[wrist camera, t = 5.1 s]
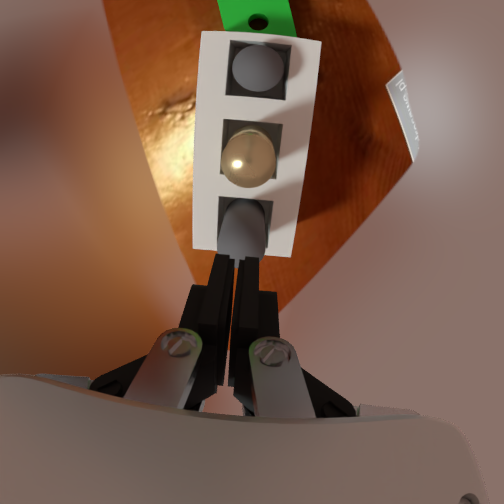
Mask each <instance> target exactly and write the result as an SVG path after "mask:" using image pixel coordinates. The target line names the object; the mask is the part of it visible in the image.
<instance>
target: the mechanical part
mask: <svg viewBox="0 0 504 504" xmlns="http://www.w3.org/2000/svg"><path fill="white" fill-rule="evenodd" d="M217 1H218V5H219V9H220V13H221V17H222V21H223V25H224V28H225V30H226V31H227V32H248V33H261V34H272V35H281V36H289V37H296V38H297V35H296V30H295V26H294V22H293V18H292V14H291V10H290V6H289V2H288V0H217ZM256 18H260V19H263V20H265V21H266V22H267V24H268V26H267V27H266V28H265V29H263V30H260V31H257V30H253V29H252V28H250V27H249V23H250V22H251V21H252V20H253V19H256Z"/></svg>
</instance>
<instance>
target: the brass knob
mask: <svg viewBox="0 0 504 504" xmlns="http://www.w3.org/2000/svg"><path fill="white" fill-rule="evenodd" d="M221 167H222V171H223V173H224V175H225V176H226V178H227V179H228V180H229V181H230V182H232V183H233V184H235V185H237V186H239V187H243V188H254V187H258V186H261V185H263V184H264V183H266V182H267V181H268V180H269V179H270V178H271V176H272V175H273V173H274V171H275V167H276V157H275V152H274V147H273V142H272V138H271V136H270V134H269V133H268V132H267V131H266V130H265V129H264V128H262V127H260V126H257V125H245V126H242V127H240V128H239V129H237V130H236V131H235V132H234V133H233V135H232V137H231V138H230V140H229V142H228V143H227V145H226V147H225V149H224V150H223V153H222V156H221Z"/></svg>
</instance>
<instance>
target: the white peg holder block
mask: <svg viewBox="0 0 504 504" xmlns="http://www.w3.org/2000/svg"><path fill="white" fill-rule="evenodd" d="M252 45H264V46H267V47H270V48H272V49H273V50H275V51H276V52H277V53H278V54H279V56H280V57H281V59H282V61H283V66H284V71H283V75H282V78H281V80H280V81H279V82H278V83H277V84H276V85H275V86H274V87H273V88H271V89H269V90H266V91H260V92H257V91H251V90H248V89H245V88H244V87H242V86H241V85H240V84H239V83H238V82H237V81H236V79H235V78H234V75H233V71H232V65H233V61H234V59H235V57H236V55H237V54H238V53H239V52H240V51H241V50H243V49H244V48H246V47H249V46H252ZM320 51H321V41H315V40H309V39H303V38H296V37H289V36H281V35H272V34H261V33H248V32H227V31H202V34H201V44H200V55H199V67H198V81H197V95H196V113H195V133H194V161H193V249H204V250H215V251H217V242H218V238H219V234H220V231H221V227H222V223H223V219H224V215H225V212H226V208H227V206H228V205H229V203H230V202H231V201H233V200H234V199H236V198H248V199H255V200H257V201H258V202H259V203H260V204H261V205H262V207H263V209H264V212H265V247H266V248H265V254H264V255H271V256H282V257H291V252H292V246H293V241H294V235H295V229H296V223H297V217H298V211H299V205H300V199H301V193H302V186H303V180H304V174H305V167H306V160H307V153H308V147H309V140H310V132H311V125H312V118H313V110H314V102H315V95H316V86H317V78H318V69H319V61H320ZM245 125H257V126H260V127H262V128H264V129H265V130H266V131H267V132H268V133H269V134H270V136H271V138H272V142H273V147H274V152H275V157H276V167H275V171H274V173H273V175H272V176H271V178H270V179H269V180H268V181H267V182H266V183H264V184H263V185H261V186H258V187H254V188H243V187H239V186H237V185H235V184H233V183H232V182H230V181H229V180H228V179H227V178H226V176H225V175H224V173H223V171H222V167H221V156H222V153H223V150H224V149H225V147H226V145H227V143H228V142H229V140H230V138H231V137H232V135H233V133H234V132H235V131H236V130H237V129H239V128H240V127H242V126H245Z"/></svg>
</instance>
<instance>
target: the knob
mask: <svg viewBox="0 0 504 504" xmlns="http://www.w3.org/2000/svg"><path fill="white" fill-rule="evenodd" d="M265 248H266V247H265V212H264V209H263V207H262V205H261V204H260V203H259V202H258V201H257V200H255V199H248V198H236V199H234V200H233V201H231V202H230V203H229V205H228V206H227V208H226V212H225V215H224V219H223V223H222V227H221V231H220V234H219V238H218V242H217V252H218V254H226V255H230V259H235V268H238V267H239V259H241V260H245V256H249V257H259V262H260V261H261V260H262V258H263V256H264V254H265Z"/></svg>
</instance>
